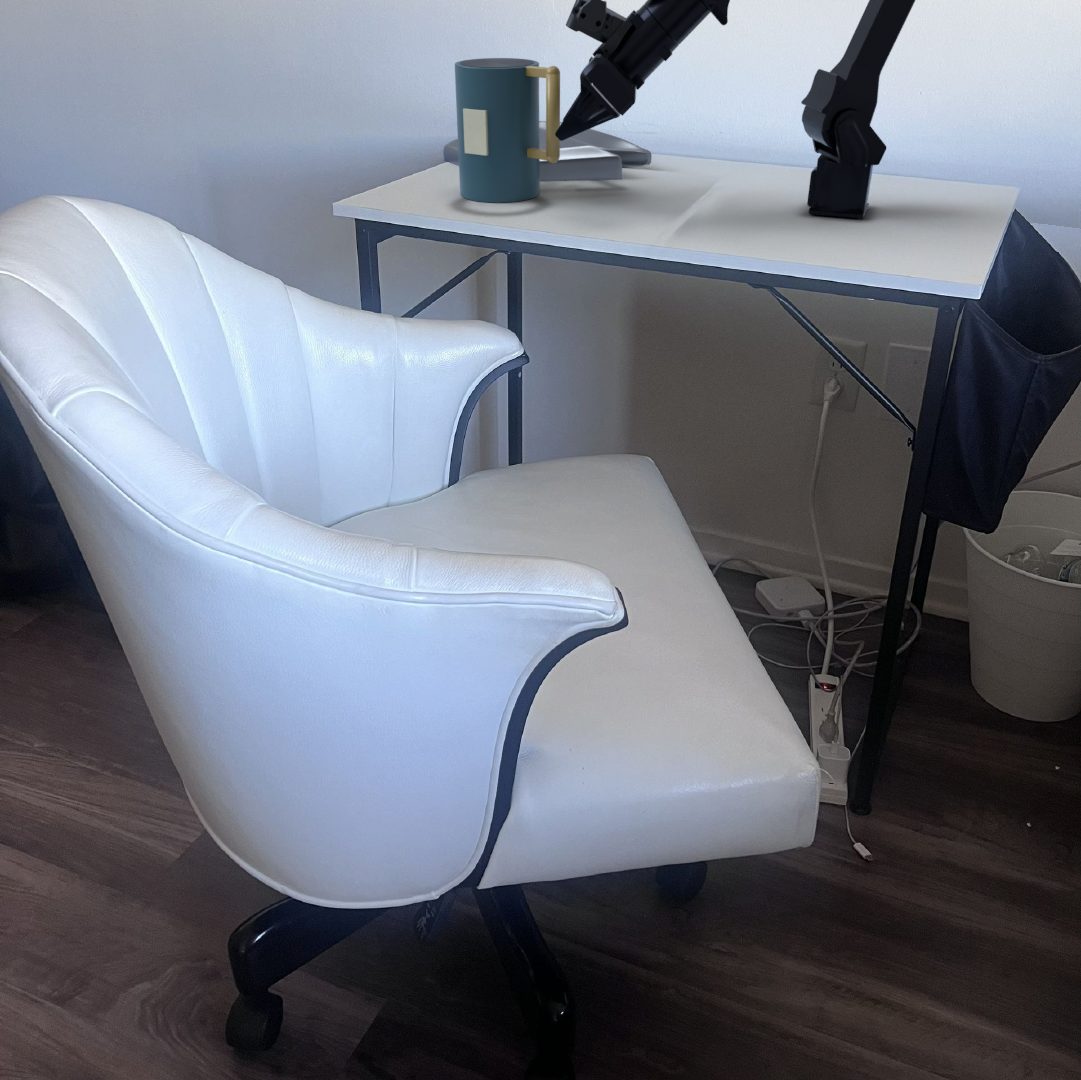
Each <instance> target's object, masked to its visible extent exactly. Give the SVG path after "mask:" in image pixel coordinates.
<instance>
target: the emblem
mask: <svg viewBox="0 0 1081 1080" xmlns="http://www.w3.org/2000/svg"><path fill="white" fill-rule="evenodd" d="M562 122H563V121H560V125H561V123H562ZM539 149H545V150H546V120H539ZM442 154H443V160H444V161H445V162H447V163H450V164H452V165H454V166H457V167H459V153H458V138H457V139H453V140H451V141H449V142H448V143H447V144H444V146H443V153H442ZM652 158H653V157H652V152H651V150H649V149H646V148H643V147H641V146H639V145H637V144H635V143H633V142H630V141H628V140H627V139H624V138H621V137H618V136H616V135H612V134H609V133H607V132H603V131H600V130H596V129H592V128H590V129H588V130H586V131H583V132H581V133H579V134H577V135H574V136H572V137H570V138H567V139H565V140H563V141H560V158H559V160H558V161H557V162H556V163H550V162H549V161H547V160H541V159H540V182H561V181H562V182H563V181H565V182H566V181H604V180H605V181H606V180H608V181H611V180H622V179H623V167H643V166H650V165H651V164H652V160H653V159H652Z"/></svg>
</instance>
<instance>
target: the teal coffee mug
mask: <svg viewBox="0 0 1081 1080" xmlns="http://www.w3.org/2000/svg"><path fill="white" fill-rule="evenodd" d="M540 78H541V79H545V103H546V104H545V121H546V150H545V149H539V121H540ZM454 79H455V84H454V85H455V103H456V107H455V108H456V125H457V128H456V129H457V139H458V153H459V166H458V175H459V194H460V196H461V197H462V198H464V199H466V200H469V201H474V202H481V203H493V204H494V203H496V204H498V203H500V204H503V203H516V202H523V201H528V200H531V199H534V198H536V197H538V196H539V195H540V192H541V188H540V187H541V186H540V185H541V183H540V182H541V181H540V159H541V160H547V161H549V162H550V163H556V162H557V161H558V160H559V158H560V140H559V139H558V138H557V137H556V135H555V133H556V131H557V129H558V128H559V126H560V122H561V70H560V69H559V67H558V66H556V65H550V66H549V67H546V66H540V62H539V61H537V60H534V59H526V58H516V57H515V58H513V57H486V58H472V59H471V58H470V59H464V60H459V61H456V62H455V63H454Z"/></svg>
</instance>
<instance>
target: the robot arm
mask: <svg viewBox="0 0 1081 1080" xmlns="http://www.w3.org/2000/svg"><path fill="white" fill-rule="evenodd" d="M730 2H731V0H646V1H645V2H644V4H642V6H640V8H639V9H637V10H635V9H633V10H632V11H631V12H630V13H629V14H628V15H627V17H625V16H623V15H621V14H619V13H618V12H616V11H615V10H613V9H610V8H609V7H608V5H607V4H608V3H607V1H606V0H575V1H574V4H573V6H572V8H571V11H570V13H569V16H568V18H567V21H566V23H565V26H566V28H568V29H570V30H572V31H574V32H580V33H582V34H584V35H585V36H588V37H589V38H591V39H594V40H596V41H597V42H599V43H601V44H599V45H598V46H597V48H596V49H595V50H594V51H593V53H592V56H590V58H589V59H588V63H587V64H586V65H585V67H584V68H583V69H582V71H581V72H580V75H579V81H580V87H579V88H580V92H579V94H577V96H576V98H575V99H574V101H573V103H572V104H571V106H570V108H569V109H568V110H567V112H566V114H565V115H564V117H563V119H562V121H561V122H562V123H561V125H560V126H559V128H558V129H557V131H556V133H555V135H556V137H557V138H558V139H559V140H560V141H563V140H565V139H567V138H570V137H572V136H574V135H577V134H579V133H581V132H583V131H586V130H588V129H592V128H595V127H598V126H600V125H603V124H605V123H607V122H609V121H611V120H614V119H618V118H619V117H620V116H624V115H625V114H626V113H627V112H628V111H629V110H630V109H631V108H632V107H633V105H635V104H636V100H637V90H640V89H641V88H642V87H643V85H645V83H646V80H647V79H649V77H650V76H651V75H652V74H653V73H654V72H655V71H656V70H657V69H658V68H659V66H661V64H662V63H663V62H667V61H668V60H669V59H670V57H672V55H673V52H674V51H675V50H676V49H677V48H678V47H679V46H680V45H681V44H682V42H683V41H685V39H687V37H689V36H690V35H691V33H692V32H693V31H695V29H696V28H698V26H699V25H700V24H701V23H702V22H703V21H704V20H705V19H706V18H707V17H708V16H709V15H710V14H712V16H713V17H714V18H715V19H716V20H717V21H718V22H719V24H720V25H721V26H726V25H727V24H728V23H729V22H728V21H729V20H728V19H729V18H728V16H729V15H728V13H729V12H728V11H729V5H730ZM915 2H916V0H868V2H867V4H866V6H865V9H864V11H863V13H862V15H861V17H860V18H859V19H860V20H859V21H858V24H857V26H856V28H855V30H854V33H853V34H852V37H851V39H850V41H849V42H848V45H847V48H846V50H845V52H844V54H843V56H842V58H841V59H840V60H839V62H837V64H835V65H834V66H833V68H832V69H831V70H830V71H827V70H824V69H822V68H819V69H817V71H816V72H815V75H814V76H813V80H812V83H811V87H810V89H809V91H808V93H807V94H806V96H805V97H804V98H803V99H802V100H801V102H800V103H801V104H802V105H804V108H803V111H802V115H801V122H802V126H803V130H804V131H805V133H806V134H807V136H808V137H809V138H810V139H811V141H812V145H813V151H814V152H815V153H817V154H820V155H819V157H818V158H817V162H816V166H815V167H814V168H813V169H812V170H811V171H810V177H809V184H808V185H809V187H808V194H807V202H806V205H807V207H809V208H808V212H807V214H809V215H817V216H827V217H829V216H830V217H839V218H849V219H850V218H852V219H864V217H865V215H866V214H867V211H868V209H869V207H870V203H869V202H868V201H869V195H870V190H871V189H870V188H871V182H872V176H873V175H872V174H873V169H874V166H878V165H880V163H881V161H882V159H883V157H884V155H885V153H886V151H887V145H886V143H884V141H883V140H882V139H881V137H880V136H879V135H878V133H876V131H875V129H873V127H872V125H871V123H872V120H873V117H874V115H875V111H876V108H877V105H878V98H879V89H880V88H879V86H880V78H881V74H882V71H883V68H884V67H885V64H886V62H887V61H888V59H889V56H890V54H891V52H892V50H893V48H894V47H895V44H896V42H897V39H898V38H899V36H900V33H901V31H902V29H903V28H904V25H905V23H906V21H907V19H908V17H909V15H910V13H911V10H912V8H913V6H914V5H915Z"/></svg>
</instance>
